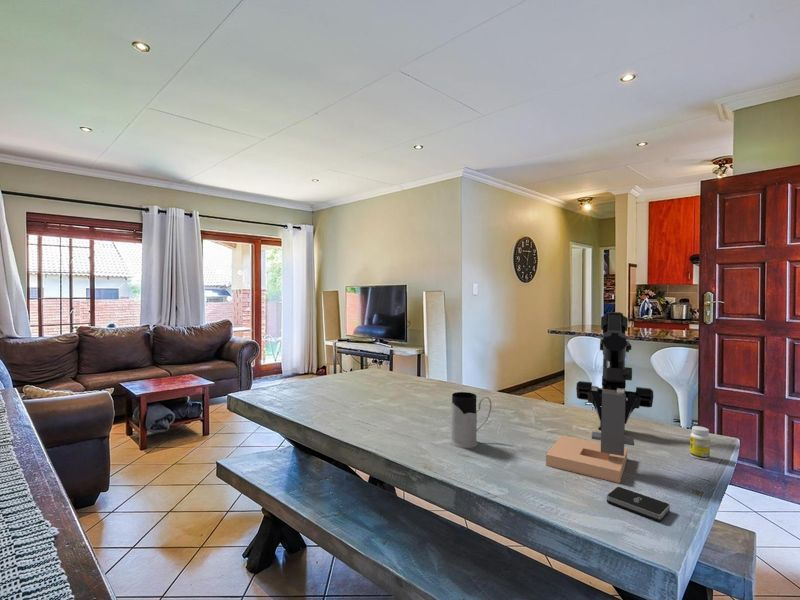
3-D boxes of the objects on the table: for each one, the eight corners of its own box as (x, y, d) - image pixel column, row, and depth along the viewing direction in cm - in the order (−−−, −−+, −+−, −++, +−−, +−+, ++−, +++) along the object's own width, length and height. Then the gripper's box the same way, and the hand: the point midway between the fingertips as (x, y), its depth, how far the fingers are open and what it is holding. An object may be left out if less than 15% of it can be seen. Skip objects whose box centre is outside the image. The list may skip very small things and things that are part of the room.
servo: (591, 450, 112) (592, 387, 112) (591, 445, 116) (593, 384, 115) (633, 457, 108) (635, 392, 107) (633, 452, 111) (634, 388, 111)
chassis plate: (561, 444, 129) (561, 435, 129) (627, 458, 119) (627, 448, 119) (545, 465, 114) (546, 454, 114) (619, 483, 104) (620, 471, 104)
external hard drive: (617, 494, 99) (617, 486, 99) (671, 513, 91) (671, 504, 91) (605, 504, 95) (605, 495, 94) (660, 525, 86) (661, 515, 86)
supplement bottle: (690, 452, 124) (691, 424, 124) (710, 456, 121) (711, 427, 121) (688, 457, 120) (689, 428, 120) (709, 461, 117) (710, 432, 117)
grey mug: (444, 439, 133) (445, 392, 132) (483, 434, 138) (483, 389, 137) (458, 449, 124) (458, 399, 124) (498, 443, 130) (499, 395, 129)
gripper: (577, 352, 119) (573, 400, 109) (653, 358, 110) (656, 411, 101) (578, 374, 126) (575, 421, 117) (650, 381, 118) (652, 432, 108)
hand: (612, 421), depth 110 cm, fingers closed on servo, 5 cm apart
